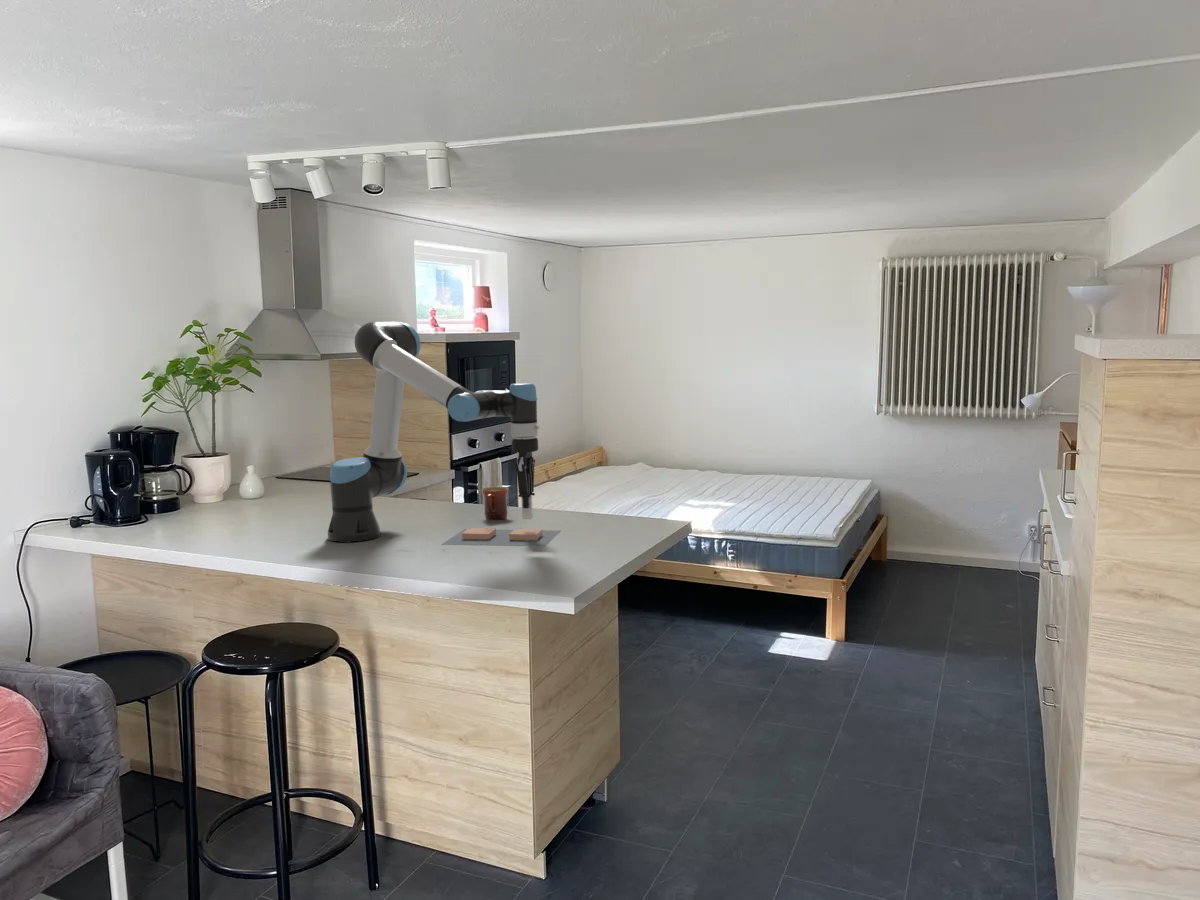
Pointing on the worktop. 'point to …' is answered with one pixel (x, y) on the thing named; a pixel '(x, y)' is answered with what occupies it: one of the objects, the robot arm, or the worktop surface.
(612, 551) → the worktop surface
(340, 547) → the worktop surface
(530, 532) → the tile
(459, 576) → the worktop surface
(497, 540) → the mat
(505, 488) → the mug
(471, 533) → the tile
